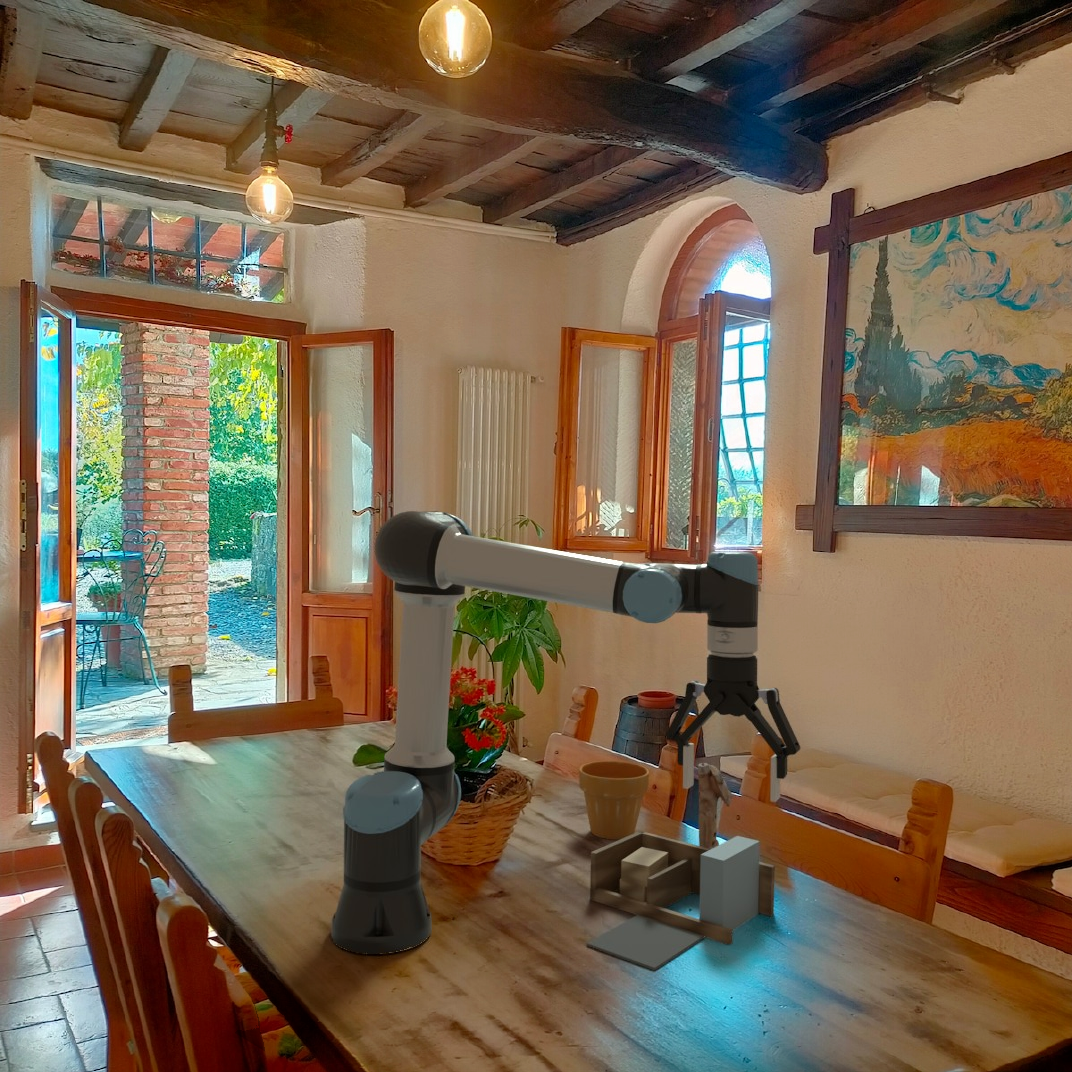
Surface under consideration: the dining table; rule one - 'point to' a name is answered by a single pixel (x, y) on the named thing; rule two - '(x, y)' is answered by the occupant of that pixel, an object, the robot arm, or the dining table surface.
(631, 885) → the offcut lower
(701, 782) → the figurine
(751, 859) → the grey rectangular block
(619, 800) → the flower pot
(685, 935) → the mat
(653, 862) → the offcut upper
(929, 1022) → the dining table surface
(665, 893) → the rack
